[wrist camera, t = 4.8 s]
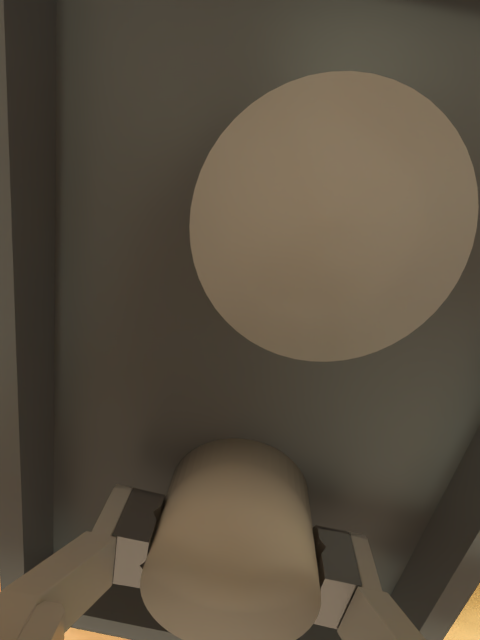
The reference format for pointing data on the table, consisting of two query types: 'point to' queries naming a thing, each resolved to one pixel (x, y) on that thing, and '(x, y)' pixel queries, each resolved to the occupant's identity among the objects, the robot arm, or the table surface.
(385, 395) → the parts tray
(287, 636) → the sandstone pebble
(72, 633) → the table surface
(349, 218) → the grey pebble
